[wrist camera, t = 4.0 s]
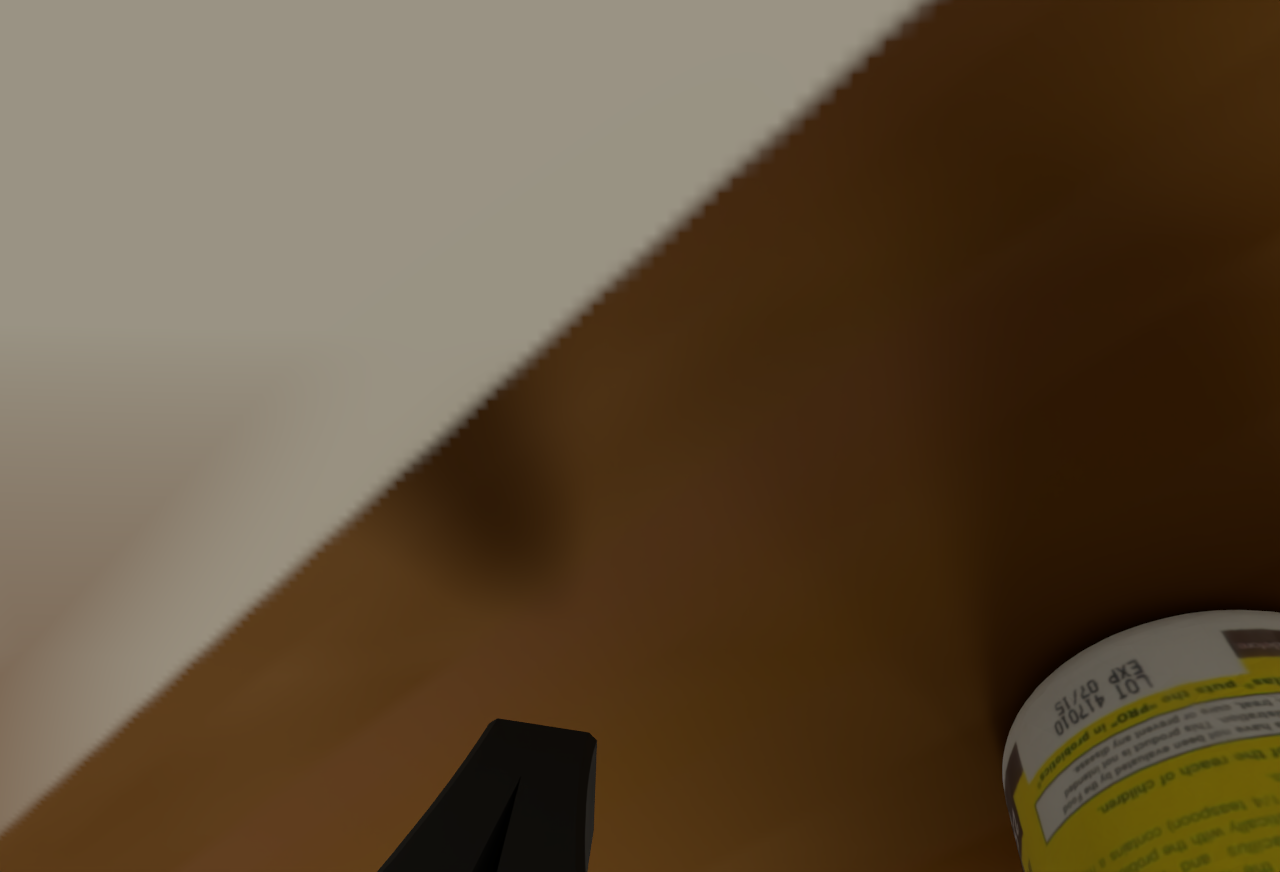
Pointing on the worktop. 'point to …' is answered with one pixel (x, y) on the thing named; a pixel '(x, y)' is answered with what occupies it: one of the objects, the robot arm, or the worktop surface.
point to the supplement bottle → (1154, 751)
